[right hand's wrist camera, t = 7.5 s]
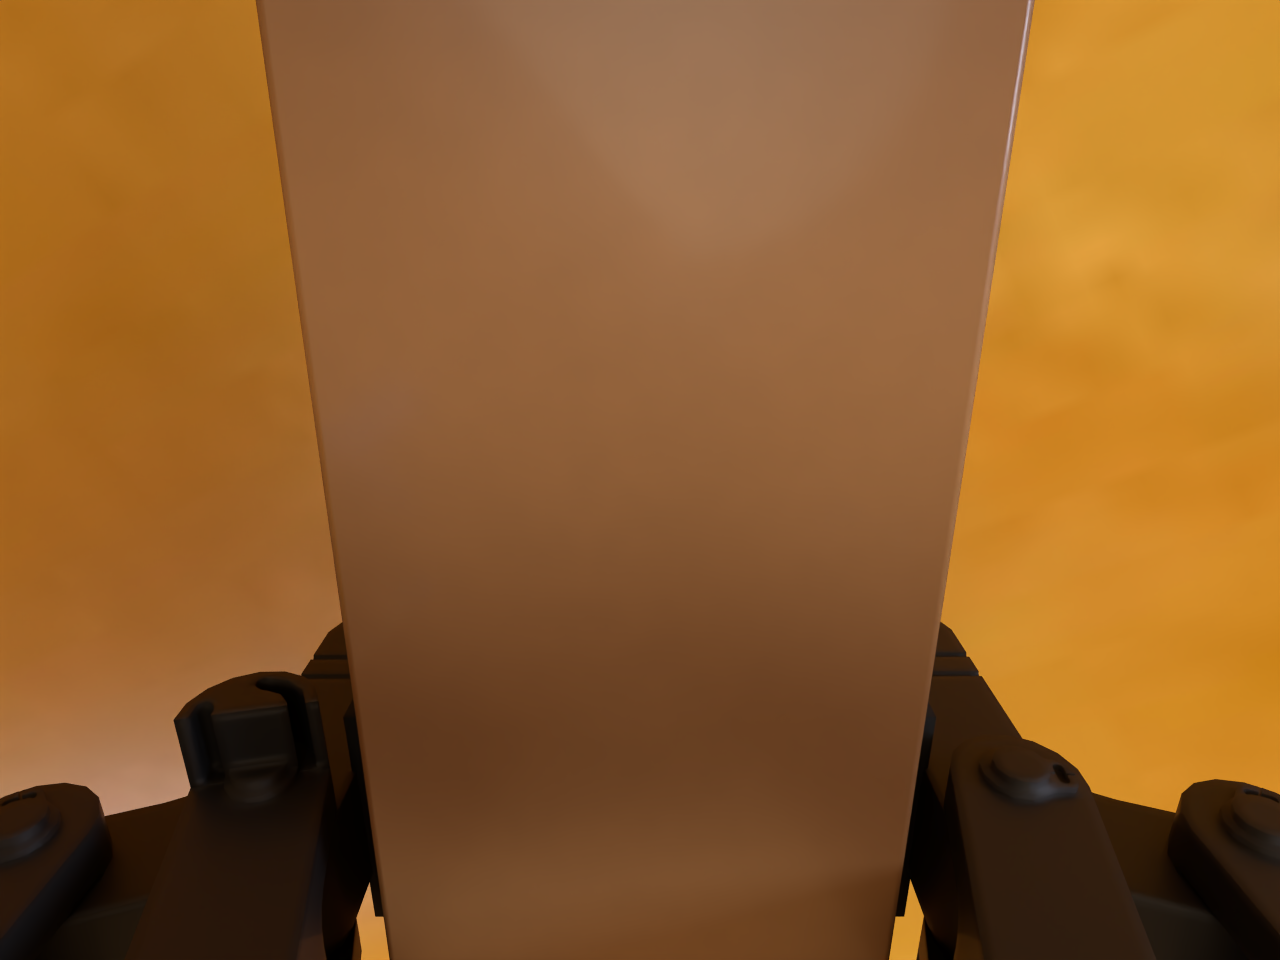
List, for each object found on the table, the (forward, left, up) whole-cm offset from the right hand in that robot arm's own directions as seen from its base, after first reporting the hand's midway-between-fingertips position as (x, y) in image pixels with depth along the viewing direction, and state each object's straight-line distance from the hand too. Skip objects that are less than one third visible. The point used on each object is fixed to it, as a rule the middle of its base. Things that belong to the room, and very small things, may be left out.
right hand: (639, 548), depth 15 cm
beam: (+17, +29, -1) cm, 33 cm away
